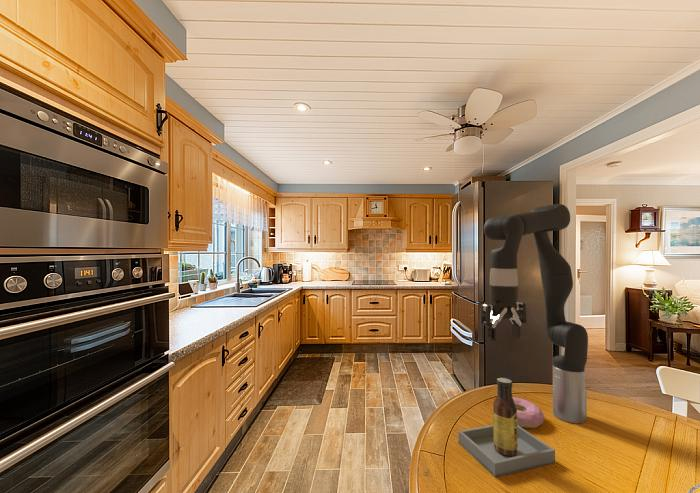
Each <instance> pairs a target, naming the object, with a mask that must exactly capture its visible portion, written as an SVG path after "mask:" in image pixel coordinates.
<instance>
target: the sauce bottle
mask: <svg viewBox="0 0 700 493" xmlns="http://www.w3.org/2000/svg"><path fill="white" fill-rule="evenodd" d="M496 385H497V392H496V393H497V396H496V397H495V398H494V401H493V409H492V410H493V411H492V420H493V421H492V423H493V424H492V425H493V437H494V448H495V450H496V451H497V452H499V453H500V454H503V455H506V456H514V455H516V453H517V448H518V440H517V409H516V406H515V403H514V400H513V398H512V397H513V390H512V389H513V381H512V380H510V379H509V378H506V377H498V378H496Z"/></svg>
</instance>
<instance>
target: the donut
mask: <svg viewBox="0 0 700 493" xmlns="http://www.w3.org/2000/svg"><path fill="white" fill-rule="evenodd" d="M512 398H513V400H514V403H515V406H516V409H517V425H518V426H520V427H521V428H523V429H534V428H537V427H539V426H541V425H542V424H544V420H545V415H544V412H543V411H542V409H541V408H540V407H538V406H537V405H536V403H533V402H531V401H529V400H526V399H525V398H519V397H514V396H512Z"/></svg>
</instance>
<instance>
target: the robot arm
mask: <svg viewBox="0 0 700 493" xmlns="http://www.w3.org/2000/svg"><path fill="white" fill-rule="evenodd" d="M570 223H571V214H570V210H569V208H568V207H567V206H566V205H564V204H562V203H555V204H549V205H543V206H537V207H534V208H532V209H531V211H528V212H520V213H515V214H512V215H502V216H494V217H490V218H489V219H487V220H486V221H485V222H484V225H483V233H484V235H485V236H486V237H487V239H489V240H492V241H504V244H503V245H502V246H501V247H496V248H494V249H492V250H491V251H490V270H489V298H490V300H491V303H490V304H486V303H482V304H481V313H480V314H481V315H480V316H481V317H480V324H481V325H483V326H486V327H487V338H488V340H489V341H492V342H494V341H497V328H496V327H497V325H498V323H500V322H501V321H502V320H505V319H508V320H509V321H510V323H512V324H511V336H512V338H514V339H520V337H521V327H522V325H523V324H526V323H527V306H526V305H527V304H526V303H524V302H520V301H518V300H519V273H518V253H519V249H520V244H521V242H522V238H523V236H527V235H530V234H532V235H533V238H534V241H535V246H536V250H537V256H538V257H537V258H538V262H539V271H540V279H541V284H542V288H543V297H544V305H545V306H544V307H545V318H546V319H545V321H546V322H545V323H546V326H545V327H546V334H547V337H548V340H549V341H550V343H552V344H553V345H555V346H558V347H561V348H564V352H563V354H562V355H555V356H554V357H553V358H552V414H553V415H554V416H555V417H556V418H558V419H559V420H561V421H564V422H567V423H571V424H583V423H586V422H585V421H586V420H587V418H588V414H587V412H588V410H587V408H588V406H587V405H588V403H587V401H588V400H587V398H588V396H587V391H586V390H585V389H586V388H585V386H586V385H585V384H586V382H585V380H586V379H585V377H586V376H585V371H586V370H585V368H586V367H585V366H586V365H587V361H588V349H589V348H588V346H589V336H588V331H587V329H586V328H585V327H584V326H583V325H581V324H578V323H574V322H571V321H570V322H569V321H567V320H566V316H565V306H566V305H565V304H566V302H567V300H568V298H569V296H570V294H571V293H572V290H573V286H574V280H573V274H572V269H571V268H572V267H571V266H570V263H568V261H567V260H566V259H565V257H564V256H563V255H561V253H560V252H559V251H558V250H557V249H556V248H555V247H554V245H553V244H552V241H551V239H550V237H549V233H548V232H555V231H561V230H564V229H566V228H568V226H569V225H570Z"/></svg>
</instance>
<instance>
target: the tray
mask: <svg viewBox="0 0 700 493" xmlns="http://www.w3.org/2000/svg"><path fill="white" fill-rule="evenodd" d="M517 440H518V448H517V453H516V455H514V456H506V455H503V454H500V453H499V452H497V451H496V450H495V448H494V437H493V424H491V425H490V424H489V425H484V426H479V427H473V428H468V429H463V430H462V429H461V430H458V444H459V445H460V446H461V447H463V449H465V451H466V452H467V453H469V455H471V457H473V458H474V459H475V460H476V462H478V463H479V464H480V465H481V466H482V467H484V469H486V470H487V471H488V472H489V473H490V475H491V476H493V477H494V478H499V477H502V476H506V475H507V476H508V475H510V474H511V475H512V474H515V473H520V472H525V471H528V470H532V469H536V468H541V467H545V466H549V465H553V464H556V450H555V449H554V448H553V447H551V446H550V445H549V444H547V443H545V442H543V441H542V440H541V439H539V438H538V437H536V436H535V435H533V434H532V433H531V432H528V430H525V428H521V427H520V426H518V425H517Z"/></svg>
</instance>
